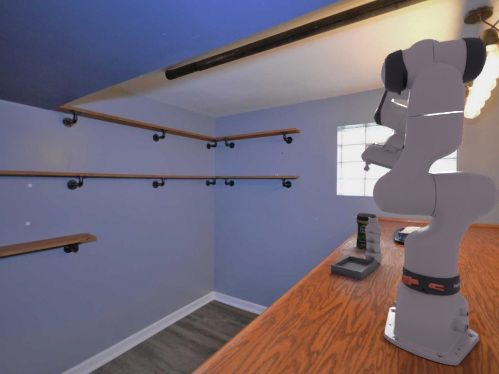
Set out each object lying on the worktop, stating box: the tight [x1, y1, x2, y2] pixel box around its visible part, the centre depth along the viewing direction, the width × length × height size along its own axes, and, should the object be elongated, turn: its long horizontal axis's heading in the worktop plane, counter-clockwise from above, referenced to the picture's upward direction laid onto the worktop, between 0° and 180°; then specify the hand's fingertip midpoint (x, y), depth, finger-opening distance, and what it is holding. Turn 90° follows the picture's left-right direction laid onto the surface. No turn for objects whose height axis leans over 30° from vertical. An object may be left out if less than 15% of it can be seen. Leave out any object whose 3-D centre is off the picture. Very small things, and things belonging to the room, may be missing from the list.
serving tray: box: [330, 254, 378, 281], centre depth 104 cm, size 17×12×3 cm
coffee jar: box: [355, 212, 377, 250], centre depth 136 cm, size 10×8×19 cm
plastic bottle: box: [364, 216, 383, 264], centre depth 112 cm, size 6×7×20 cm
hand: (375, 173), depth 106 cm, fingers open, 8 cm apart
